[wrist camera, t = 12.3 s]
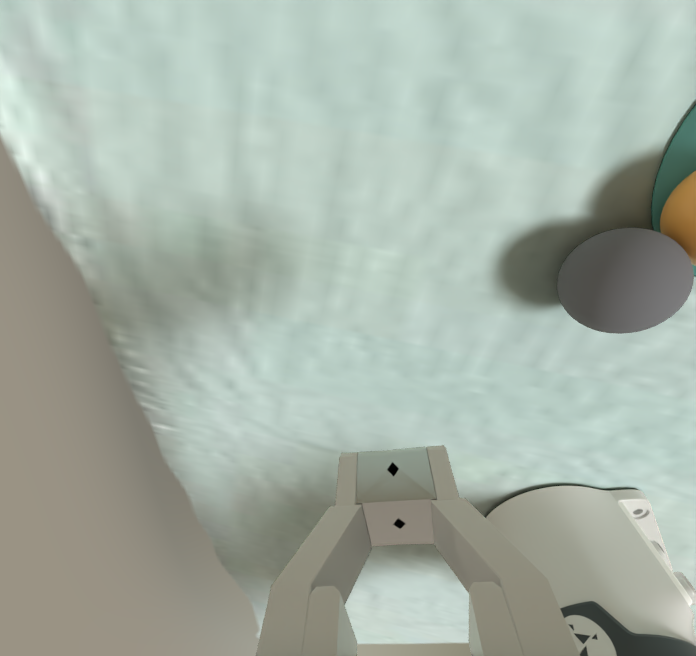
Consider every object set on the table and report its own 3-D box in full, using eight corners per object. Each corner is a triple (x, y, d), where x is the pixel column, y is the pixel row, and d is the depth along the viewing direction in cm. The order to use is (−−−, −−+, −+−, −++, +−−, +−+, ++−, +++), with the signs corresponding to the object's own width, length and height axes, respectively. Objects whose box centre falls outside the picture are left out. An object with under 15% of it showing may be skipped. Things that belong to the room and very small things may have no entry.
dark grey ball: (640, 345, 16) (524, 293, 20) (645, 358, 20) (549, 313, 24) (734, 229, 14) (588, 197, 18) (718, 269, 18) (602, 237, 22)
